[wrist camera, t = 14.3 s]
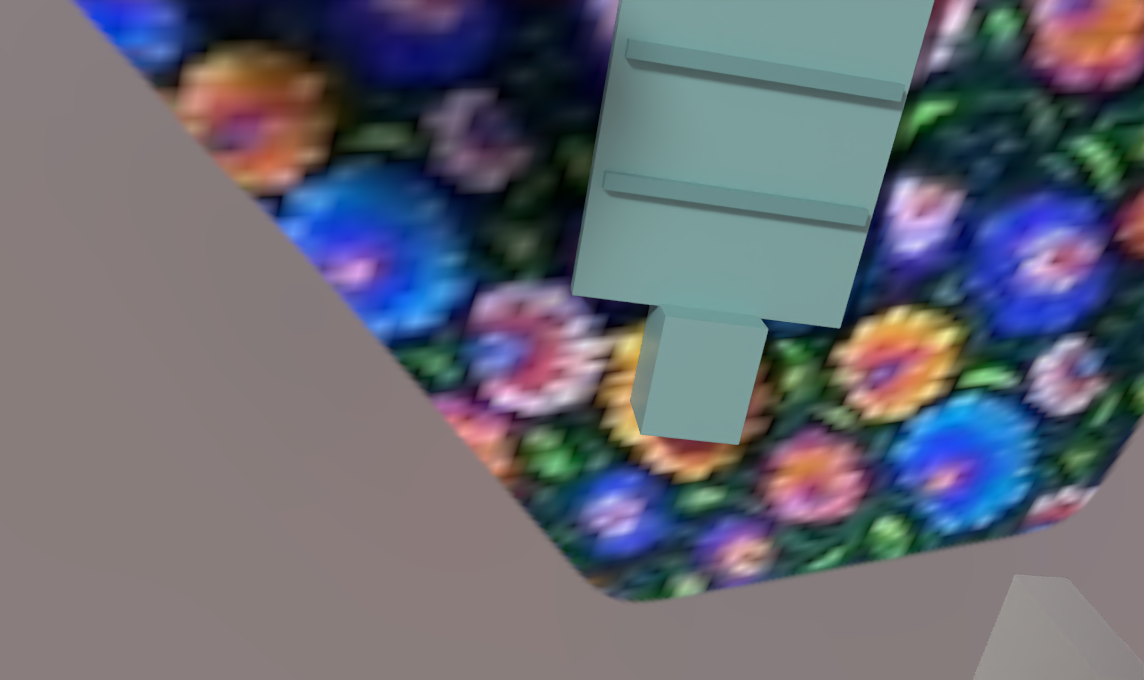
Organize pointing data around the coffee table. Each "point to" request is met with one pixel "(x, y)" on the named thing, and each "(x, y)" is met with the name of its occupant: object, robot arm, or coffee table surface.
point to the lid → (737, 183)
